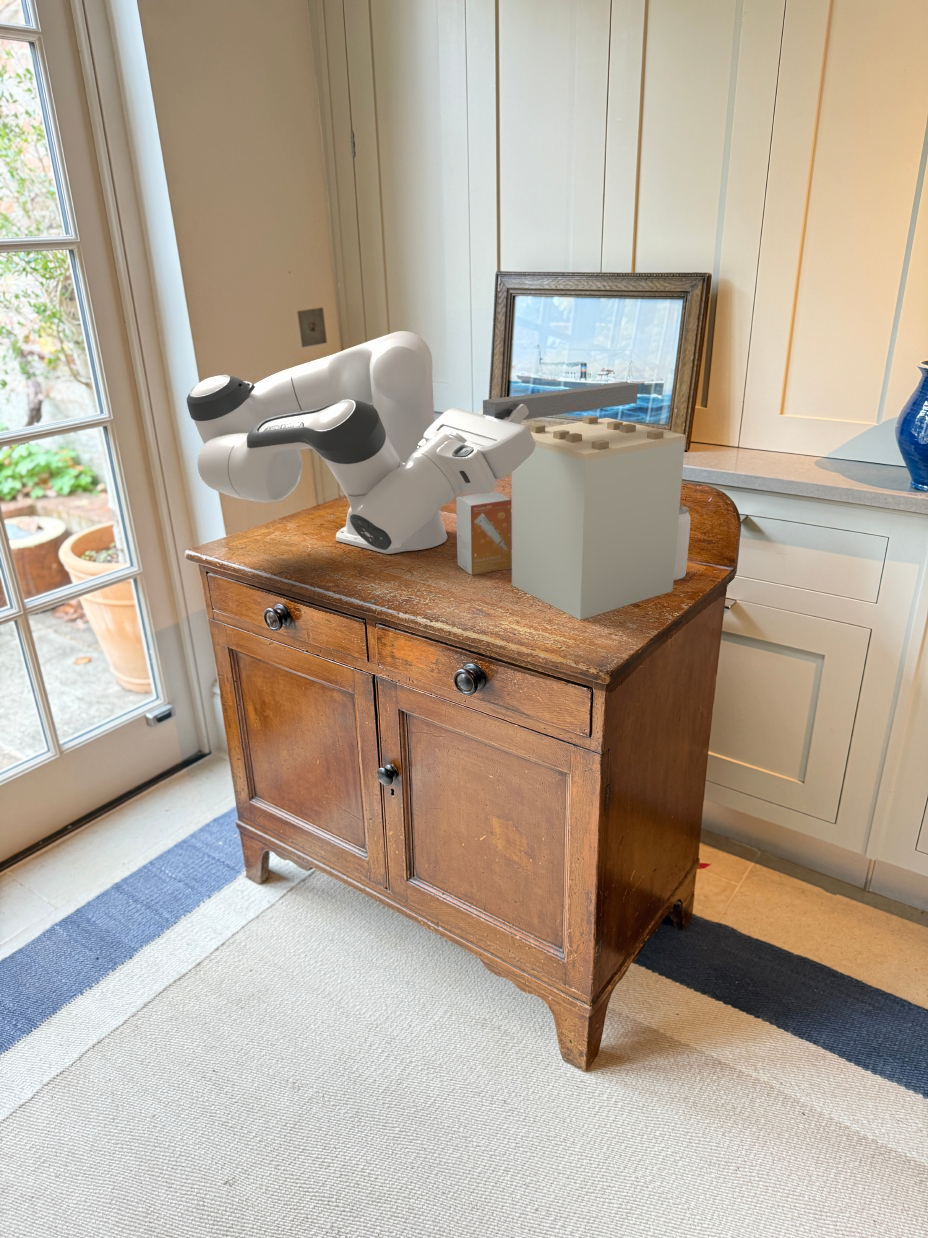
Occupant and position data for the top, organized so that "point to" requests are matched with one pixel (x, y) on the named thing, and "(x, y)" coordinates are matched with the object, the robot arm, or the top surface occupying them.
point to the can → (682, 543)
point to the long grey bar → (564, 400)
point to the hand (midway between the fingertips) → (515, 405)
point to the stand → (597, 515)
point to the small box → (484, 532)
